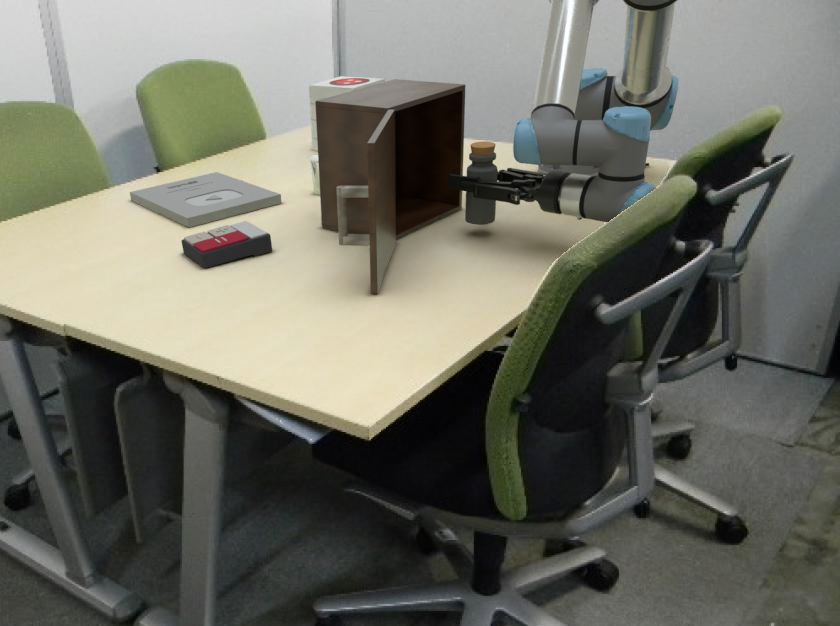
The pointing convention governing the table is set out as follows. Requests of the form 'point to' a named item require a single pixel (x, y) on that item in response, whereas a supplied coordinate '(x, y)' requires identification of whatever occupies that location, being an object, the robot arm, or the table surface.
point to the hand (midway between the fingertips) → (459, 177)
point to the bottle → (481, 166)
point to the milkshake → (315, 173)
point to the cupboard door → (375, 201)
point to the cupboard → (414, 150)
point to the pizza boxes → (332, 89)
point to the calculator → (226, 244)
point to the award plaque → (204, 198)
